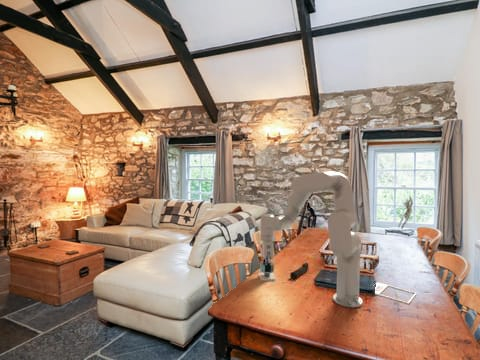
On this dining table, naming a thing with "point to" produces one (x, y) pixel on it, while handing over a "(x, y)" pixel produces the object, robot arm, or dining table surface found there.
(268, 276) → the grey peg on base
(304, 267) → the dark brown bar
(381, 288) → the photo frame
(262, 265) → the collar
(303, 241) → the dining table surface
